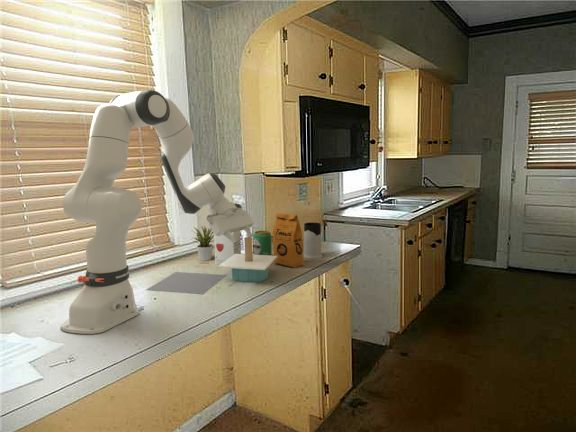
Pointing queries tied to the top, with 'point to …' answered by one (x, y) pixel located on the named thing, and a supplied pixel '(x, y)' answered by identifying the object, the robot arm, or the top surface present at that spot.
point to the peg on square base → (248, 259)
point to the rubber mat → (187, 283)
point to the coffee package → (288, 240)
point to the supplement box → (226, 247)
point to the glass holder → (312, 240)
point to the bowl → (249, 274)
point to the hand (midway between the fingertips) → (243, 239)
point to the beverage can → (262, 243)
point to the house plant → (204, 244)
